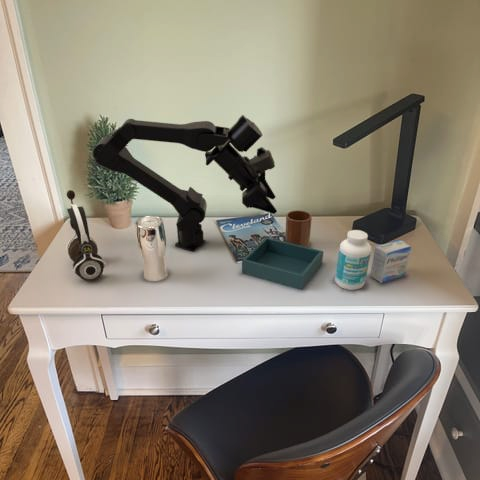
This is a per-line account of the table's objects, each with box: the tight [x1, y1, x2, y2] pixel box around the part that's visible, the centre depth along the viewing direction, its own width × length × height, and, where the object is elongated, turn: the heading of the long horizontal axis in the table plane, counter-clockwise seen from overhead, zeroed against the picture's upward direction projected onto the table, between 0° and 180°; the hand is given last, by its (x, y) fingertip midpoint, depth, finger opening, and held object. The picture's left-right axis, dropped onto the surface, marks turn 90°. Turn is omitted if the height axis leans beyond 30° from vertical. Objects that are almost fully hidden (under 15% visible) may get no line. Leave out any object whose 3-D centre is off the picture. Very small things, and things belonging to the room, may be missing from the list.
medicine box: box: [369, 239, 412, 284], centre depth 124 cm, size 8×4×9 cm, turn 117°
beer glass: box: [134, 215, 169, 282], centre depth 122 cm, size 7×7×15 cm
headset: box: [66, 189, 106, 282], centre depth 123 cm, size 17×8×20 cm, turn 24°
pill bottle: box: [334, 229, 372, 291], centre depth 120 cm, size 8×7×14 cm
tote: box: [241, 237, 324, 291], centre depth 128 cm, size 17×14×4 cm
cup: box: [284, 209, 313, 248], centre depth 137 cm, size 7×7×9 cm
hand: (274, 205), depth 132 cm, fingers open, 9 cm apart
